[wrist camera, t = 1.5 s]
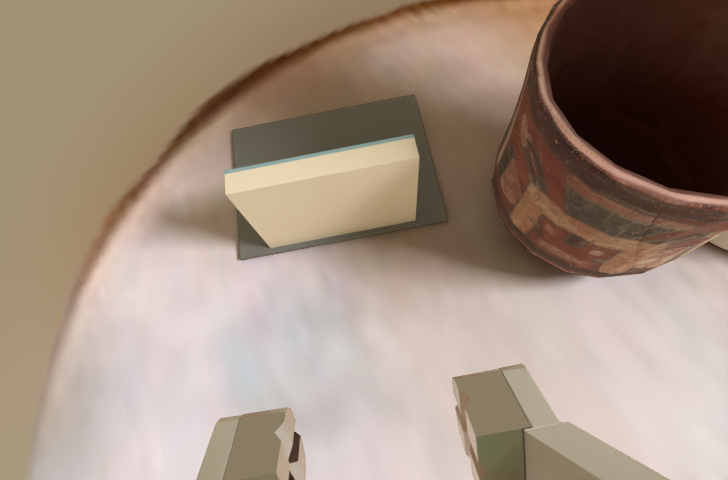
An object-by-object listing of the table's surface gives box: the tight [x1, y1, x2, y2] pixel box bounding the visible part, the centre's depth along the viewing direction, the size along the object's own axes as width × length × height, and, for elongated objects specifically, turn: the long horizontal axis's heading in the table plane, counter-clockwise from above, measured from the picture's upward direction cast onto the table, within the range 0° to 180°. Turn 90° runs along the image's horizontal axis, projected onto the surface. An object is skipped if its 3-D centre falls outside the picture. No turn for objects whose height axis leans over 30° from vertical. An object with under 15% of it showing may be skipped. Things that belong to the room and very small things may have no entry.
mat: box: [232, 95, 448, 260], centre depth 43 cm, size 20×15×1 cm
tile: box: [224, 134, 419, 248], centre depth 35 cm, size 14×2×11 cm, turn 100°
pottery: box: [492, 0, 728, 278], centre depth 31 cm, size 18×18×18 cm
